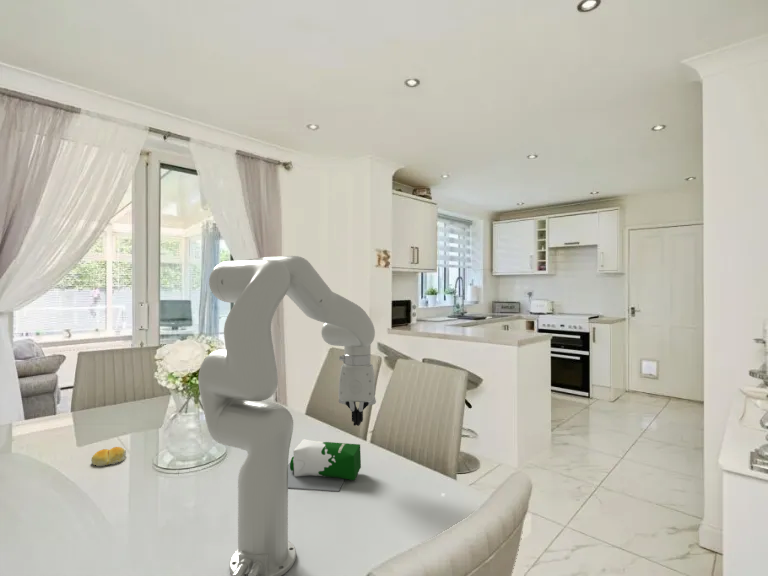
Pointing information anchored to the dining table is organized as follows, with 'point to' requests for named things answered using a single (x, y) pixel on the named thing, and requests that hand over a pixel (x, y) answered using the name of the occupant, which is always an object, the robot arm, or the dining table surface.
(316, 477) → the placemat
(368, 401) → the robot arm
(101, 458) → the bread roll
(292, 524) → the dining table surface
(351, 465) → the white and green box
